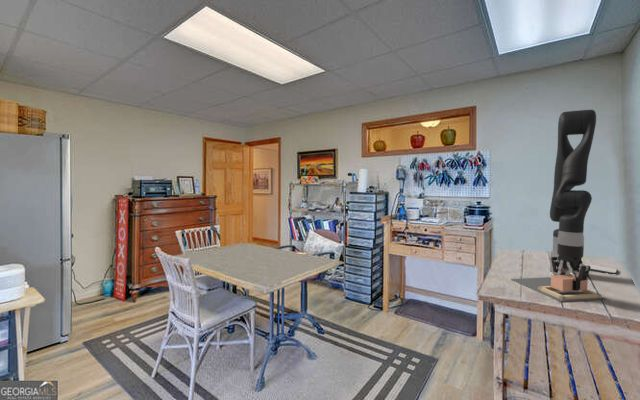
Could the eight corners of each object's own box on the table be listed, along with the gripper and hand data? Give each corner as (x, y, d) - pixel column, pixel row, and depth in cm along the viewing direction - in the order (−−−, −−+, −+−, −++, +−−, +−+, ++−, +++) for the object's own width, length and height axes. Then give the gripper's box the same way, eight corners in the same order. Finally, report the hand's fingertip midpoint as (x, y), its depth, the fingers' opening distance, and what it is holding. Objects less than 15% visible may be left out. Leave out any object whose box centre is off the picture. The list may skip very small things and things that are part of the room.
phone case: (618, 272, 139) (574, 264, 151) (618, 269, 138) (574, 261, 151) (616, 276, 133) (570, 268, 145) (616, 273, 133) (570, 265, 145)
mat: (511, 279, 128) (511, 276, 128) (549, 278, 130) (549, 274, 130) (560, 302, 105) (561, 297, 105) (606, 299, 106) (606, 295, 106)
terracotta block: (574, 285, 114) (574, 274, 114) (587, 290, 109) (587, 278, 109) (550, 286, 113) (551, 275, 113) (562, 291, 108) (562, 279, 108)
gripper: (599, 247, 103) (597, 294, 105) (562, 239, 118) (560, 280, 119) (579, 247, 103) (577, 295, 104) (544, 239, 117) (543, 281, 118)
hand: (568, 287), depth 111 cm, fingers closed on terracotta block, 5 cm apart
